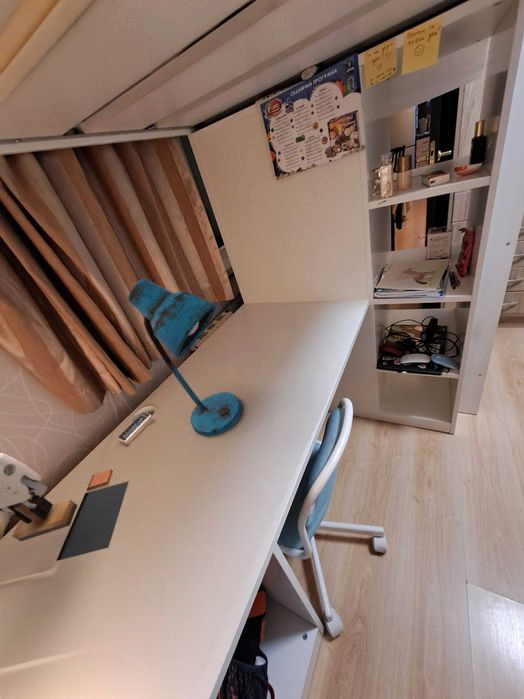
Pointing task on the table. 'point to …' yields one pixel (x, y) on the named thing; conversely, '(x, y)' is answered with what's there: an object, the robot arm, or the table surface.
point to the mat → (94, 521)
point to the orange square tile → (103, 478)
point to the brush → (54, 521)
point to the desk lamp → (184, 346)
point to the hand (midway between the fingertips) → (40, 514)
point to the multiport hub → (135, 428)
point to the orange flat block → (92, 482)
